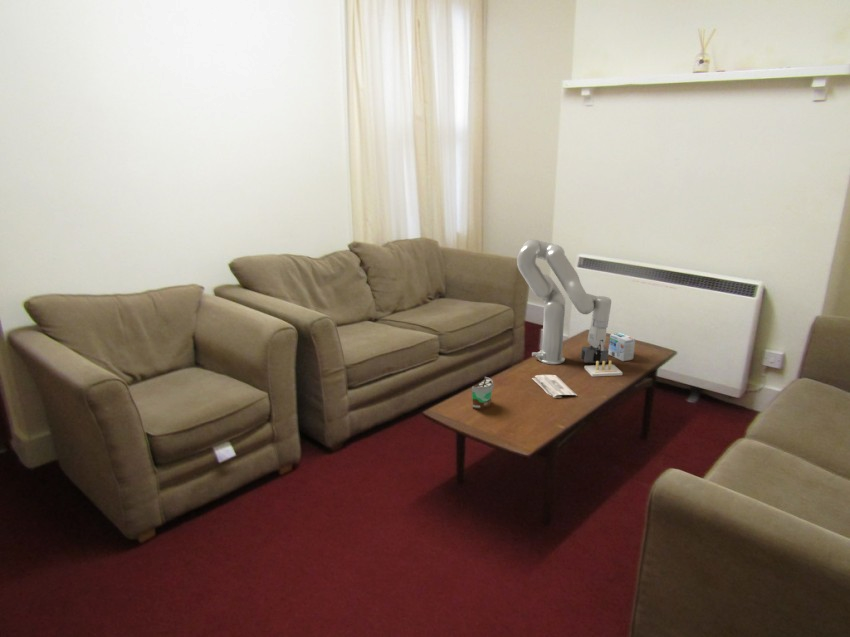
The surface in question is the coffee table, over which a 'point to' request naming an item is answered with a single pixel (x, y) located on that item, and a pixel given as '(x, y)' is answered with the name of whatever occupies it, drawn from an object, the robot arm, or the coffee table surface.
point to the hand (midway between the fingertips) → (594, 358)
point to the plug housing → (589, 354)
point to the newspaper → (553, 385)
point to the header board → (603, 369)
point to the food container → (482, 394)
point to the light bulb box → (621, 346)
